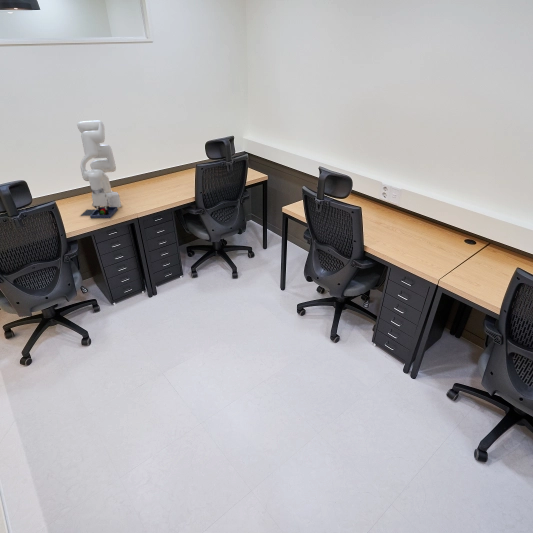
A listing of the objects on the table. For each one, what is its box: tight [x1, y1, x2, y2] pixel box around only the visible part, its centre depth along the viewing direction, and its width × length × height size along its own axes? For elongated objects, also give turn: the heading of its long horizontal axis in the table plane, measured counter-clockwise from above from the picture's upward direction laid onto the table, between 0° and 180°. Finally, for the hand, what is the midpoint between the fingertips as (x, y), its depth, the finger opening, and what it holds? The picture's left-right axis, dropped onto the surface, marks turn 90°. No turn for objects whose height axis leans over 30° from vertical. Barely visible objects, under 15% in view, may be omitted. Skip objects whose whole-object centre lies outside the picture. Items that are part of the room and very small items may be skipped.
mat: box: [80, 209, 96, 217], centre depth 264 cm, size 11×7×1 cm, turn 179°
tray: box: [89, 206, 119, 219], centre depth 261 cm, size 15×14×3 cm
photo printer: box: [107, 191, 122, 209], centre depth 268 cm, size 10×4×12 cm, turn 123°
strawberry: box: [100, 208, 106, 215], centre depth 261 cm, size 8×4×4 cm, turn 179°
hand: (104, 213), depth 261 cm, fingers closed on tray, 4 cm apart
